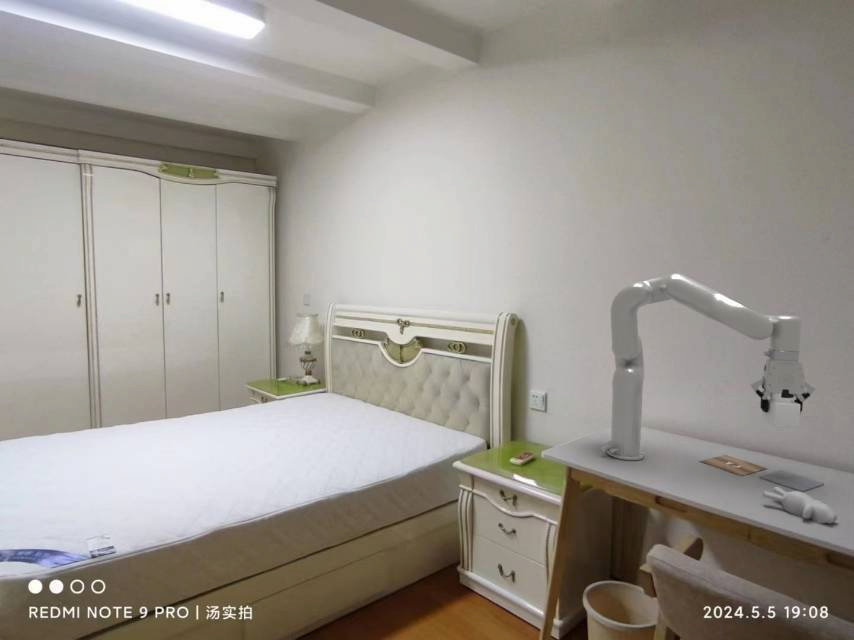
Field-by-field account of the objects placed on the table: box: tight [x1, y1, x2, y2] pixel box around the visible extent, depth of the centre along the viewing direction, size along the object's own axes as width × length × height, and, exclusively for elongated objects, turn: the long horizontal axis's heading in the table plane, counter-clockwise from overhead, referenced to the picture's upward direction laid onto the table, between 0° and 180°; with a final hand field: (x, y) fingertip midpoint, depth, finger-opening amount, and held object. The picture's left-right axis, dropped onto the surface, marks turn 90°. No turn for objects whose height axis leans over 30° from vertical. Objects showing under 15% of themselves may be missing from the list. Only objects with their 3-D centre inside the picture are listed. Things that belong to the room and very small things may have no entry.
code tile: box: [699, 454, 768, 477], centre depth 166 cm, size 14×14×1 cm
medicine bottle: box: [761, 389, 801, 428], centre depth 155 cm, size 7×7×12 cm
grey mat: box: [758, 469, 825, 493], centre depth 153 cm, size 12×12×1 cm
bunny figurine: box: [762, 486, 839, 524], centre depth 132 cm, size 10×5×15 cm
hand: (780, 412), depth 155 cm, fingers closed on medicine bottle, 8 cm apart
